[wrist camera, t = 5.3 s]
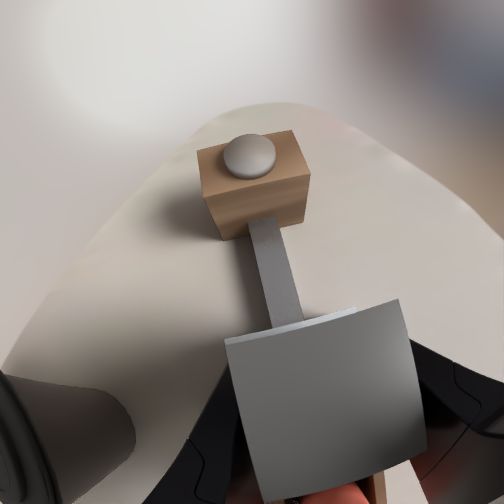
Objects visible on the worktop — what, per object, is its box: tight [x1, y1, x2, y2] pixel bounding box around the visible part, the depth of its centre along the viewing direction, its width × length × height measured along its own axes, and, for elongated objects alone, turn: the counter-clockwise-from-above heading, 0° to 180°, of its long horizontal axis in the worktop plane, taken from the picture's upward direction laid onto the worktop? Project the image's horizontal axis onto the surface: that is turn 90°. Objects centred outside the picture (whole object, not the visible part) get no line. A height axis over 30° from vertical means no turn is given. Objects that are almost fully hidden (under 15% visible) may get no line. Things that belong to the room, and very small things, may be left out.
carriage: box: [224, 299, 427, 502], centre depth 9 cm, size 5×6×10 cm
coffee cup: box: [0, 370, 136, 504], centre depth 8 cm, size 8×8×10 cm
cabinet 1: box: [197, 130, 311, 241], centre depth 15 cm, size 3×5×6 cm, turn 102°
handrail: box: [248, 216, 304, 328], centre depth 14 cm, size 13×2×2 cm, turn 12°
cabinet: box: [272, 471, 387, 504], centre depth 9 cm, size 5×5×4 cm
